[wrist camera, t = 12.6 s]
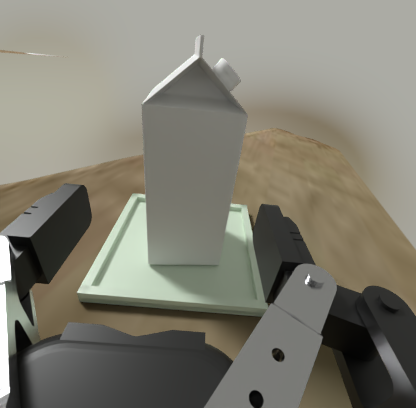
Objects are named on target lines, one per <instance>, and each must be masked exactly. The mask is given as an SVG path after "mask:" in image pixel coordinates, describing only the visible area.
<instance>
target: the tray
mask: <svg viewBox="0 0 416 408" xmlns="http://www.w3.org/2000/svg"><path fill="white" fill-rule="evenodd" d="M77 295H78V298H79V301H80V302H90V303H102V304H114V305H126V306H138V307H150V308H162V309H174V310H186V311H198V312H210V313H222V314H234V315H246V316H258V317H262V316H263V315H264V313H265V312H266V310H267V309H268V304H267V303H265V298H264V293H263V289H262V284H261V279H260V274H259V269H258V265H257V260H256V255H255V250H254V246H253V234H252V229H251V224H250V219H249V215H248V210H247V205H240V204H231V206H230V211H229V216H228V221H227V226H226V231H225V236H224V241H223V246H222V252H221V257H220V262H219V265H152V264H148V246H147V222H146V198H145V195H143V194H134V193H133V194H132V196H131V198H130V199H129V201H128V203H127V205H126V206H125V208H124V210H123V212H122V214H121V215H120V217H119V219H118V221H117V222H116V224H115V226H114V228H113V230H112V231H111V233H110V235H109V237H108V238H107V240H106V242H105V244H104V245H103V247H102V249H101V251H100V253H99V254H98V256H97V258H96V260H95V261H94V263H93V265H92V267H91V269H90V270H89V272H88V274H87V276H86V277H85V279H84V281H83V283H82V285H81V286H80V288H79V290H78V292H77Z"/></svg>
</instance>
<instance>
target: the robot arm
mask: <svg viewBox="0 0 416 408" xmlns="http://www.w3.org/2000/svg"><path fill="white" fill-rule="evenodd" d="M91 218H92V214H91V208H90V203H89V198H88V193H87V189H86V187H85V186H84V185H77V184H67V183H66V184H64V185H62V186H61V187H60V188H59V189H58V190H57V191H56V192H55V193H51V194H49V195H47V196H45V197H43V198H40V199H39V200H38V201H37V202H35V203H34V204H33V205H32V206H31V208H28V209H27V210H26V211H25V212H24V214H21V215H20V216H19V217H18V218H17V219H16V220H14V221H13V222H12V223H11V224H10V225H9V226H7V227H6V228H5V229H4V230H3V231H2V232H0V408H298V407H299V404H300V401H301V399H302V396H303V393H304V390H305V387H306V385H307V382H308V379H309V376H310V373H311V371H312V368H313V365H314V362H315V359H316V356H317V354H318V351H319V348H320V345H321V344H323V345H326V346H328V347H331V348H332V350H333V352H334V355H335V358H336V361H337V364H338V367H339V370H340V373H341V376H342V378H343V381H344V384H345V387H346V390H347V393H348V396H349V399H350V401H351V404H352V407H353V408H416V316H415V315H414V313H413V312H412V310H411V309H410V308H409V306H408V305H407V304H406V303H405V302H404V301H403V300H402V299H401V298H400V297H399V296H397V295H396V294H394V293H393V292H391V291H389V290H387V289H385V288H382V287H379V286H368V287H366V288H365V289H364V291H363V292H362V293H358V292H355V291H352V290H349V289H346V288H344V287H341V286H338V285H336V282H335V280H334V279H333V277H332V276H331V275H330V274H329V273H328V272H327V271H325V270H324V269H322V268H320V267H318V266H316V265H315V263H314V261H313V259H312V257H311V254H310V252H309V250H308V248H307V246H306V244H305V242H304V241H303V238H302V236H301V235H300V232H299V229H298V227H297V225H296V224H295V223H294V222H293V221H292V220H291V219H290V218H289V217H283V215H282V213H281V210H280V208H279V206H277V205H267V204H261V206H260V208H259V212H258V215H257V219H256V223H255V226H254V230H253V246H254V250H255V255H256V260H257V265H258V269H259V274H260V279H261V284H262V289H263V293H264V298H265V303H271V304H270V306H269V307H268V309H267V310H266V312H265V313H264V315H263V316H262V318H261V320H260V321H259V323H258V324H257V326H256V327H255V329H254V331H253V332H252V334H251V335H250V337H249V338H248V340H247V341H246V343H245V345H244V346H243V348H242V349H241V351H240V352H239V354H238V355H237V357H236V359H235V360H234V362H233V361H232V360H231V359H230V358H229V357H228V356H227V355H226V354H224V353H223V352H222V351H220V350H219V349H217V348H215V347H213V346H211V345H209V344H206V343H205V333H204V332H191V331H177V330H170V331H165V332H159V333H154V334H149V335H143V336H131V335H129V334H126V333H123V332H121V331H118V330H115V329H113V328H110V327H107V326H105V325H98V324H85V323H72V322H68V324H67V326H66V328H65V330H64V332H63V334H59V335H55V336H52V337H49V338H46V339H44V340H40V336H39V332H38V326H37V319H36V313H35V306H34V299H33V293H32V291H31V288H32V286H33V285H34V284H35V283H42V284H49V283H50V281H51V280H52V279H53V277H54V276H55V274H56V273H57V271H58V270H59V269H60V267H61V266H62V264H63V263H64V261H65V260H66V259H67V257H68V256H69V254H70V253H71V252H72V250H73V249H74V247H75V246H76V244H77V243H78V242H79V240H80V239H81V237H82V236H83V234H84V233H85V232H86V230H87V229H88V227H89V226H90V223H91ZM381 358H382V359H381ZM382 360H383V361H382ZM383 362H384V363H383ZM384 364H385V365H384ZM385 366H386V367H385ZM386 368H387V369H386ZM387 370H388V371H387ZM388 372H389V373H388ZM389 374H390V375H389ZM390 376H391V377H390ZM391 378H392V379H391Z"/></svg>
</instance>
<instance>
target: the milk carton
mask: <svg viewBox="0 0 416 408" xmlns="http://www.w3.org/2000/svg"><path fill="white" fill-rule="evenodd" d="M203 41H204V35H199V36H198V37H197V38H196V41H195V54H194V55H193V56H192V57H190V58H189V59H188V60H187V61H186V62H184V64H182V65H181V66H180V67H178V68H177V69H176V70H175V71H174V72H172V73H171V74H170V75H169V76H168V77H167V78H165V79H164V80H163V81H162V82H160V84H158V85H157V86H156V87H155V88H153V90H152V91H151V93H150V94H149V95H148V96H147V98H146V99H145V101H144V102H143V103H142V125H143V150H144V174H145V198H146V222H147V246H148V264H152V265H219V262H220V257H221V252H222V246H223V241H224V236H225V231H226V226H227V221H228V216H229V211H230V206H231V200H232V195H233V190H234V185H235V180H236V175H237V170H238V165H239V160H240V154H241V149H242V144H243V139H244V134H245V129H246V123H247V117H248V115H247V113H246V112H245V110H244V109H243V108H242V106H241V105H240V104H239V103H238V101H237V100H236V99H235V98H234V96H233V95H232V94H231V93H230V91H232V90H233V89H234V88H235V86H237V85H238V84H239V83H240V82H241V80H240V78H239V76H238V75H237V73H236V72H235V71H234V70H233V69H232V67H231V66H230V65H229V63H228V62H227V61H226V60H225V59H223V58H221V59H220V60H219V61H218V63H217V64H216V65H215V66H214V67H213V69H211V68H210V67H209V66H208V64H207V63H206V62H205V60H204V59H203V58H202V53H203Z"/></svg>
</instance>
